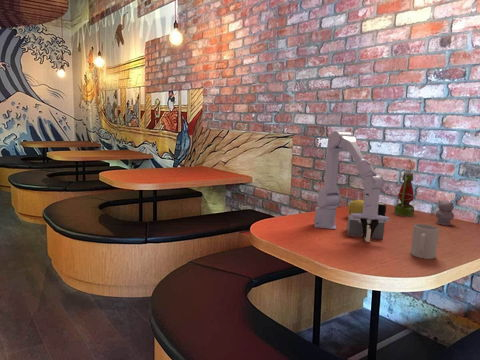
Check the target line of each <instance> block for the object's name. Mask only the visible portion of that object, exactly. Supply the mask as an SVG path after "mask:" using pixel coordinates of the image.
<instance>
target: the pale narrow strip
mask: <svg viewBox="0 0 480 360" xmlns="http://www.w3.org/2000/svg"><path fill="white" fill-rule="evenodd" d="M370 234H371V228H370V226H369V225H368V224H367V230H366V238H364V240H365V242H367V243H370V242H371V238H370ZM362 237H364V232H363V233H362Z"/></svg>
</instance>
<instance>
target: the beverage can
mask: <svg viewBox="0 0 480 360" xmlns="http://www.w3.org/2000/svg"><path fill="white" fill-rule="evenodd" d="M386 212H387V205H386V203H385V202H383V201H382V202H381V201H379V204H378V213H377V215H380V216H386ZM384 223H386V222H385V221H384Z"/></svg>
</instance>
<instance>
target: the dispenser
mask: <svg viewBox="0 0 480 360" xmlns="http://www.w3.org/2000/svg"><path fill="white" fill-rule="evenodd" d="M347 216H348V217H347V225H346V226H347V227H346V232H347V235H348V236H350V237H359V238H362V237H363V227H362V223H361V221H360V219H351V215H350V214H348V215H347ZM378 222H379V223H378V225H377V227H376V228H375V230H374V232H373V235H372V238H371V239H377V240H384V232H385V223H386V222H385V223H384V221H378ZM367 224H368V225H369V226H370V225H371V220H367Z"/></svg>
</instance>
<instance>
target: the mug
mask: <svg viewBox="0 0 480 360" xmlns="http://www.w3.org/2000/svg"><path fill="white" fill-rule="evenodd" d="M439 231H440V228H439V227H437V226H436V225H432V224H426V223H416V224H414V225H413V231H412V240H411V247H410V255H411V256H413V257H416V258H418V259H423V258H424V260H433V258H434V259H435V258H437V249H438V241H439V233H440V232H439Z"/></svg>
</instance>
